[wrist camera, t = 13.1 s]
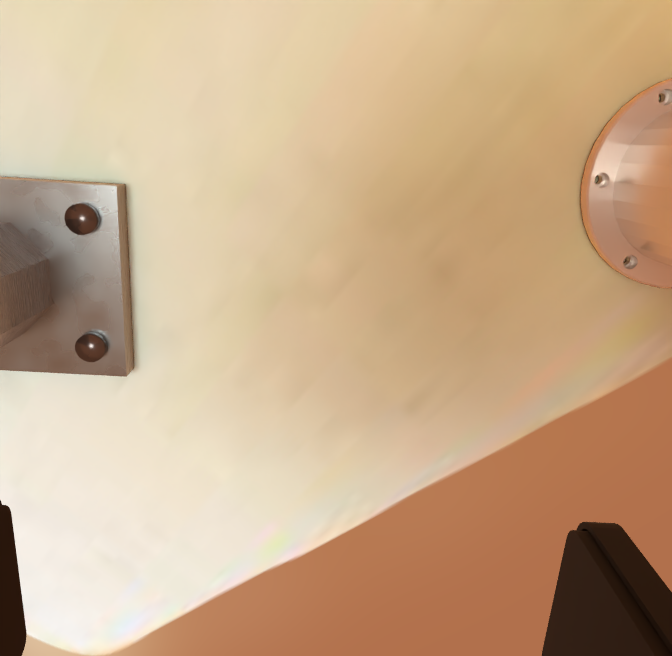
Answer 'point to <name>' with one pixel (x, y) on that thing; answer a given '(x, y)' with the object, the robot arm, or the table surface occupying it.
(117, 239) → the shaft block
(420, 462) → the table surface
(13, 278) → the hub ring
